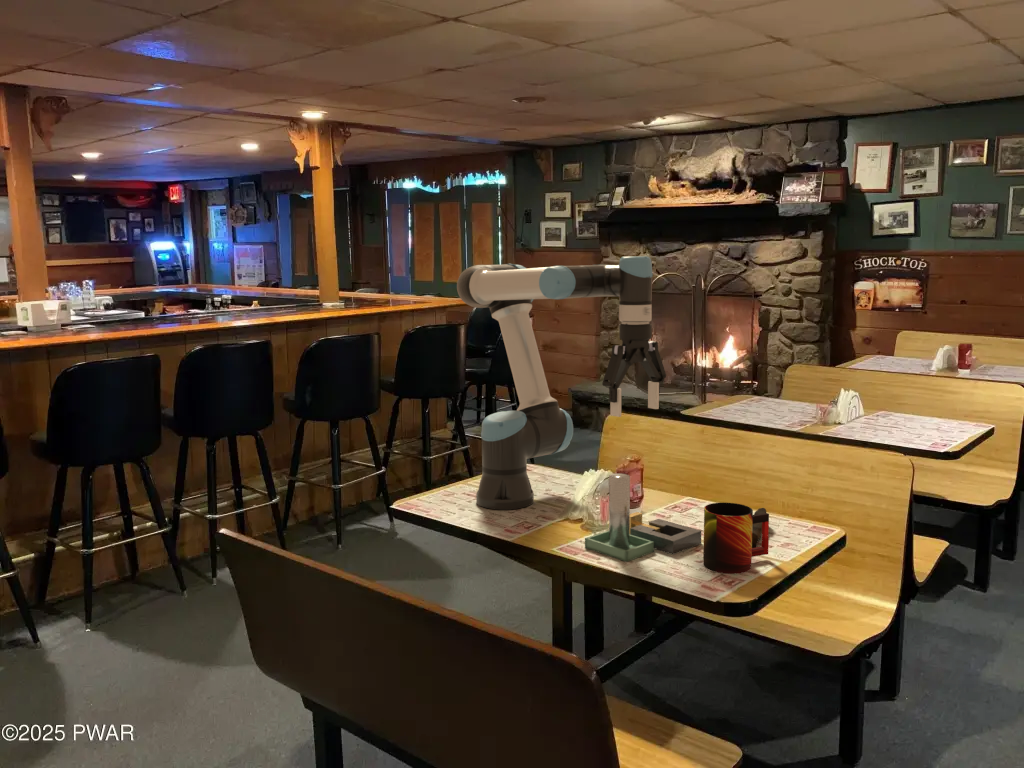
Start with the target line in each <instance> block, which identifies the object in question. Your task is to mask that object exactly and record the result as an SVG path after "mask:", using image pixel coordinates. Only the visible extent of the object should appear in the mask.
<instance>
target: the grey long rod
mask: <svg viewBox="0 0 1024 768" xmlns="http://www.w3.org/2000/svg"><path fill="white" fill-rule="evenodd" d="M608 480H609V481H608V487H609V488H608V503H609V505H608V530H609V545H611V546H614V547H617V548H620V549H623V550H628V549H629V534H630V533H629V528H630V514H631V513H630V507H631V506H630V503H631V501H630V498H631V496H630V492H631V491H630V490H631V488H630V487H631V483H630V481H631V477H630V475H629V474H626V473H611V474H610V475H609V476H608Z"/></svg>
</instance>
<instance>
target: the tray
mask: <svg viewBox="0 0 1024 768" xmlns="http://www.w3.org/2000/svg"><path fill="white" fill-rule="evenodd" d="M584 548H585V549H587V550H590V551H593V552H596V553H599V554H602V555H605V556H608V557H611V558H614V559H617V560H620V561H622V562H625V563H627V562H630V561H633V560H635V559H638V558H642V557H643V556H646V555H650V554H652V553H654V552H655V549H654V542H653V541H650V540H646V539H643V538H640V537H637V536H633V535H630V533H629V549H628V550H623V549H620V548H617V547H614V546H611V545H609V529H608V530H606V531H605V530H604V531H602V532H599V533H596V534H593V535H590V536H588V537H585V538H584Z"/></svg>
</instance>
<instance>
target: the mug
mask: <svg viewBox="0 0 1024 768" xmlns="http://www.w3.org/2000/svg"><path fill="white" fill-rule="evenodd" d="M761 522H762V534H761V546H757V547H756V548H752V524H755V523H761ZM769 527H770V513H768V512H766V513H761V514H755V515H754V510H753V509H752V508H751V506H748V505H745V504H742V503H736V502H714V503H709V504H706V505H705V506H704V508H703V559H702V565H703V567H704V568H705V569H707V570H709V571H711V572H714V573H718V574H722V575H723V574H726V575H738V574H744V573H747V572H749V571H751V569H752V559H753V557H760V556H765V555H769V540H770V537H769V533H770V532H769V529H770V528H769Z"/></svg>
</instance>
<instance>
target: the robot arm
mask: <svg viewBox="0 0 1024 768" xmlns="http://www.w3.org/2000/svg"><path fill="white" fill-rule="evenodd" d="M652 263H653V262H652V258H651V257H650V256H648V255H642V256H639V255H638V256H635V255H634V256H621V257H620V259H619V263H618V264H616V265H615V264H592V265H591V264H590V265H589V264H588V265H587V264H586V265H553V266H545V267H544V266H543V267H529V268H527V267H525V266H524V265H521V264H514V263H505V264H504V263H503V264H475V265H472V266H470V267H468V268H467V267H466V269H464V270H463V271H462V272H461V274H459V277H458V279H457V282H456V290H457V294H458V296H459V298H460V299H461V301H462V302H463V303H464V304H466V305H468V306H470V307H472V308H478V309H483V308H484V309H485V308H489V312H490V314H491V318H492V319H494V320H495V321H497V322H498V324H499V327H500V332H501V336H502V340H503V343H504V347H505V351H506V355H507V360H508V364H509V367H510V371H511V374H512V378H513V382H514V386H515V390H516V395H517V397H518V402H519V405H518V407H517V409H516V410H507V411H504V410H503V411H498V412H494V413H491V414H489V415H487V416H486V417H484V419H483V420H482V422H481V433H480V437H481V461H482V463H481V464H482V465H481V468H482V474H481V479H480V481H479V484H478V489H477V491H476V495H475V498H476V499H475V500H476V501H475V502H476V504H477V505H478V506H479V507H481V508H482V507H483V508H486V509H490V510H499V511H500V510H501V511H504V510H506V511H507V510H516V509H517V510H518V509H521V508H526V507H529V506H531V505H532V504H533V503H534V502H535V496H534V494H535V493H534V490H533V488H532V485H531V481H530V478H529V475H528V469H527V468H528V467H527V461H528V459H532V458H537V457H543V456H547V455H549V456H550V455H554V454H556V453H559V452H563V451H564V450H566V449H567V448H568V446H570V444H571V440H572V439H573V436H574V424H573V423H574V422H573V419H572V418H571V415H570V414H569V413H568V411H566V410H564V409H562V408H560V405H559V402H558V400H557V399H556V398H555V397H552V395H551V394H550V389H549V387H548V385H549V384H548V381H547V378H546V374H545V370H544V366H543V364H542V363H543V362H542V360H541V355H540V351H539V349H538V344H537V341H536V337H535V333H534V330H533V329H534V328H533V326H532V325H533V324H532V321H531V318H530V312H531V310H532V308H533V301H534V300H549V299H550V300H564V299H565V300H567V299H579V298H596V297H598V298H599V297H600V298H601V297H618V298H619V299H618V301H619V306H618V307H619V309H618V310H619V311H618V312H619V313H618V321H619V322H621V323H620V324H619V326H618V328H619V332H618V333H619V337H618V338H619V339H620V340H621V345H618V344H617V345H616V344H613V345H612V347H611V355H610V358H609V362H608V365H607V367H606V371H605V373H604V377H603V379H602V386H603V387H605V388H608V390H609V391H608V392H609V394H608V400H609V403H610V405H609V408H610V410H609V411H610V413H609V414H610V416H612V417H617V418H619V417H620V418H621V417H622V388H620V386H621V383H622V382H623V380H624V378H625V377H626V374H627V372H628V370H629V369H630V367H631V366H632V365H633V364H636V363H640V364H641V366H642V368H643V369H644V371H645V374H647V376H648V378H649V379H650V380H649V381H648V383H647V409H653V410H659V407H660V406H659V405H660V404H659V403H660V391H661V390H660V389H661V387H660V386H661V383H663V382H664V381H665V378H667V373H666V370H665V367H664V364H663V361H662V358H661V354H660V352H659V343H658V341H654V340H652V337H653V335H652V331H653V329H652V327H653V325H652V324H651V323H650V322H652V320H653V319H652V313H653V312H652V303H653V301H652V299H653V298H652V296H653V295H652V293H653V277H654V274H653V264H652Z"/></svg>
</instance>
